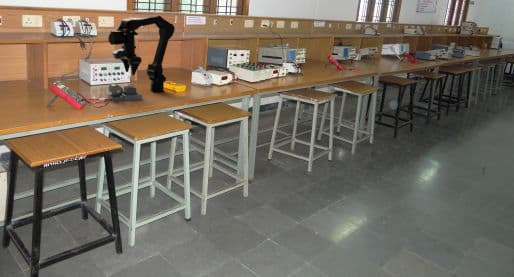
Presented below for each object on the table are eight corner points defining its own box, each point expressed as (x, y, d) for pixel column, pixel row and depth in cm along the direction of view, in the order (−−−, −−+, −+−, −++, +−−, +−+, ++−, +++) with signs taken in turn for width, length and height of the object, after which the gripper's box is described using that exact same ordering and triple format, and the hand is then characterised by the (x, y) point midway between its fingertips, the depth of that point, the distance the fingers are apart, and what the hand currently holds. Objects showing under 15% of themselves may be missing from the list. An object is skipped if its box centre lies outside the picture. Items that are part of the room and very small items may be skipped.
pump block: (133, 96, 225) (132, 83, 223) (136, 99, 221) (136, 85, 219) (123, 97, 222) (123, 83, 220) (127, 99, 219) (126, 85, 216)
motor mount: (135, 95, 228) (135, 81, 226) (142, 99, 221) (142, 85, 218) (107, 97, 220) (106, 83, 217) (113, 101, 212) (112, 86, 210)
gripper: (107, 41, 222) (109, 71, 227) (120, 46, 208) (121, 77, 213) (128, 41, 229) (129, 70, 234) (141, 46, 215) (142, 76, 220)
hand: (130, 73), depth 225 cm, fingers open, 9 cm apart
